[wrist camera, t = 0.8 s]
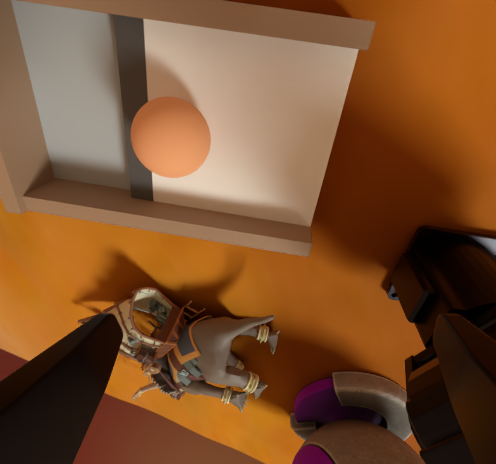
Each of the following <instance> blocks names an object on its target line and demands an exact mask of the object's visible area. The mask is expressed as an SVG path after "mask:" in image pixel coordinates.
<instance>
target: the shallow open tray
mask: <svg viewBox="0 0 496 464" xmlns="http://www.w3.org/2000/svg"><path fill="white" fill-rule="evenodd" d="M375 24H376V22H375V21H368V20H361V19H353V18H346V17H339V16H332V15H325V14H318V13H310V12H303V11H296V10H289V9H282V8H274V7H267V6H260V5H253V4H246V3H239V2H231V1H224V0H0V197H1V199H2V202H3V205H4V208H5V211H6V212H11V213H17V214H22V213H24V212H25V211H27V210H28V211H34V212H40V213H46V214H52V215H58V216H64V217H70V218H76V219H82V220H88V221H94V222H100V223H106V224H112V225H118V226H124V227H130V228H136V229H142V230H149V231H155V232H161V233H167V234H173V235H179V236H185V237H191V238H197V239H203V240H209V241H215V242H221V243H227V244H233V245H239V246H245V247H251V248H257V249H263V250H269V251H275V252H281V253H287V254H293V255H299V256H305V257H309V254H310V250H311V247H312V236H311V227H310V226H311V223H312V219H313V215H314V212H315V208H316V204H317V201H318V197H319V193H320V190H321V186H322V182H323V179H324V175H325V171H326V168H327V164H328V160H329V157H330V153H331V149H332V146H333V142H334V138H335V135H336V131H337V127H338V124H339V120H340V116H341V113H342V109H343V105H344V102H345V98H346V94H347V91H348V87H349V84H350V80H351V76H352V73H353V69H354V65H355V62H356V58H357V54H358V51H359V49H360V50H368V49H369V45H370V42H371V38H372V35H373V31H374V28H375ZM167 96H169V97H176V98H180V99H183V100H185V101H187V102H189V103H191V104H192V105H194V106H195V107H196V108H197V109H198V110H199V111H200V112H201V114H202V115H203V116H204V118H205V120H206V122H207V124H208V126H209V130H210V135H211V144H210V150H209V153H208V156H207V158H206V160H205V161H204V163H203V164H202V165H201V166H200V167H199V168H198V169H197V170H196V171H195V172H193V173H191V174H189V175H187V176H184V177H179V178H168V177H163V176H160V175H157V174H155V173H153V172H152V171H150V170H149V169H147V168H146V167H145V166H144V165H143V164H142V163H141V162H140V160H139V159H138V158H137V156H136V154H135V152H134V150H133V147H132V143H131V126H132V122H133V119H134V117H135V115H136V114H137V112H138V111H139V109H140V108H141V107H142V106H143V105H145V104H146V103H147V102H149V101H151V100H153V99H155V98H160V97H167Z"/></svg>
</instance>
